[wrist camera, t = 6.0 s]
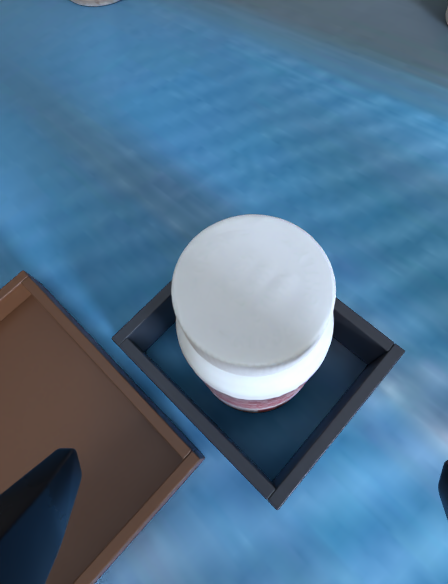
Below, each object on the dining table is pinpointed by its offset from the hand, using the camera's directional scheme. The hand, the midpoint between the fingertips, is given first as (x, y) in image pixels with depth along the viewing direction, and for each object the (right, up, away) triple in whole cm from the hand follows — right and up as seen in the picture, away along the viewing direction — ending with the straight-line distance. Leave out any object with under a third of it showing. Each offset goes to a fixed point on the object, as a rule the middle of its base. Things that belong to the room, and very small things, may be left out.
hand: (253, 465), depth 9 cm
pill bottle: (+1, 0, +13) cm, 13 cm away
